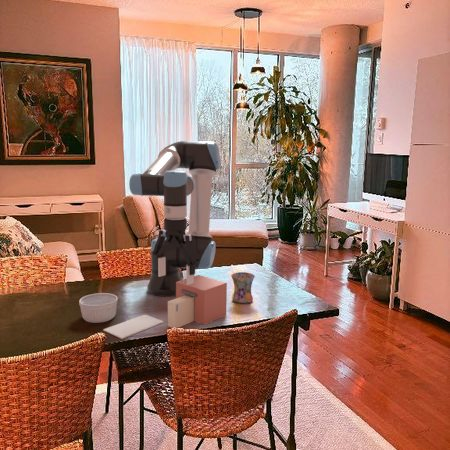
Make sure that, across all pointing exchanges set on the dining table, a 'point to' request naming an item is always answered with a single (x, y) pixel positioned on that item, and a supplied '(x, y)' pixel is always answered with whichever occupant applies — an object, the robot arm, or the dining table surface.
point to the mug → (242, 287)
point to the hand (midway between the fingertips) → (175, 279)
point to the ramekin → (98, 307)
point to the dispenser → (205, 297)
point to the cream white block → (181, 311)
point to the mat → (133, 326)
